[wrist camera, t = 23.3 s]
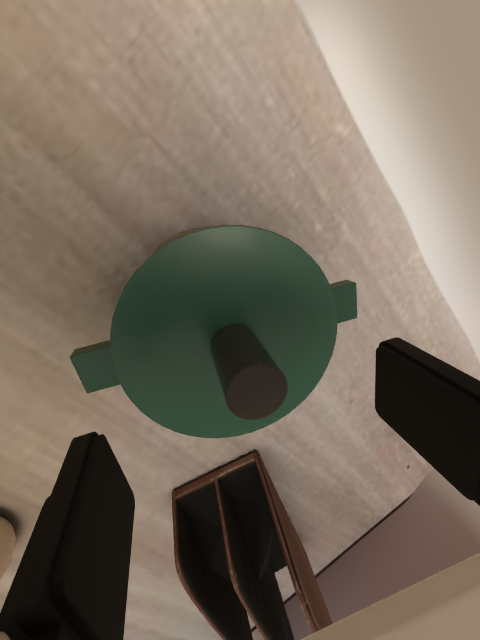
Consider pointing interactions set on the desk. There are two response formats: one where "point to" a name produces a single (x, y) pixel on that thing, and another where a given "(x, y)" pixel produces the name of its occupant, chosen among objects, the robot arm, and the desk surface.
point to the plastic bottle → (6, 544)
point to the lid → (223, 331)
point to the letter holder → (241, 553)
